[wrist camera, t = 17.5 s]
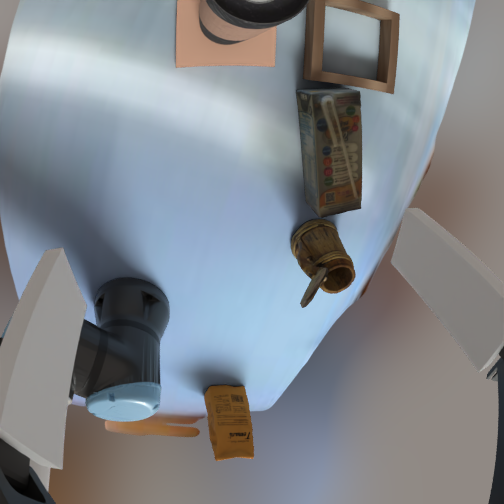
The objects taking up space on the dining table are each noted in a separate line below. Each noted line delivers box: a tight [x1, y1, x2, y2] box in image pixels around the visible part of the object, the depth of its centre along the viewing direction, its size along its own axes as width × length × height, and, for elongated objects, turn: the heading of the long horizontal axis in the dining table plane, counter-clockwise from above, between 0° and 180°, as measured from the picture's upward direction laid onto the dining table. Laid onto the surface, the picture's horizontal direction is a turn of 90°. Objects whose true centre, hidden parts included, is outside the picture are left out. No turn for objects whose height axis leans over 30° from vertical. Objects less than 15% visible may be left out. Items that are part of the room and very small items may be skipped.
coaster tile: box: [176, 0, 276, 68], centre depth 29 cm, size 13×13×1 cm
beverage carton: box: [296, 87, 362, 218], centre depth 41 cm, size 8×19×7 cm, turn 8°
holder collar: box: [303, 0, 400, 94], centre depth 32 cm, size 14×14×3 cm
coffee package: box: [204, 385, 254, 461], centre depth 71 cm, size 10×12×22 cm
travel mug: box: [199, 0, 309, 45], centre depth 21 cm, size 8×8×20 cm
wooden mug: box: [291, 219, 355, 308], centre depth 45 cm, size 9×14×18 cm, turn 64°
